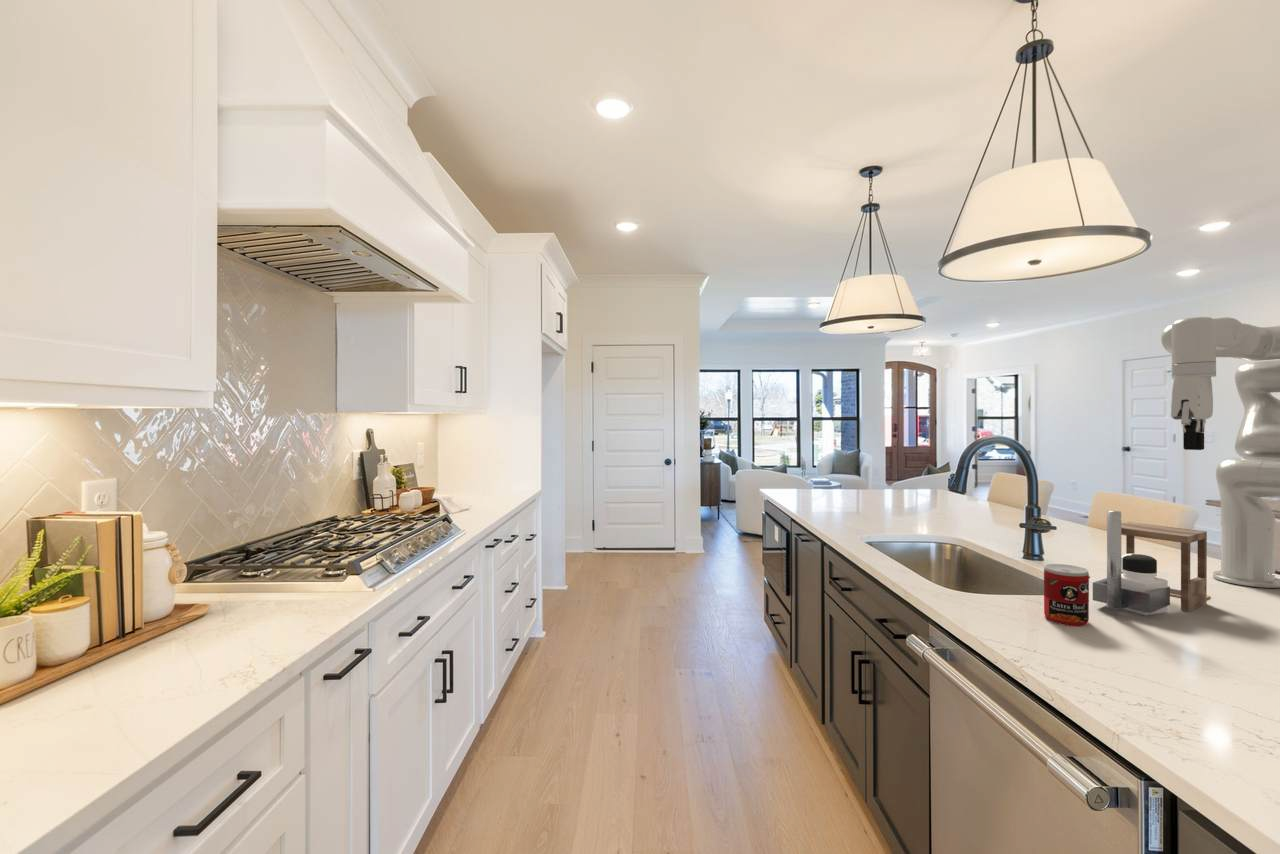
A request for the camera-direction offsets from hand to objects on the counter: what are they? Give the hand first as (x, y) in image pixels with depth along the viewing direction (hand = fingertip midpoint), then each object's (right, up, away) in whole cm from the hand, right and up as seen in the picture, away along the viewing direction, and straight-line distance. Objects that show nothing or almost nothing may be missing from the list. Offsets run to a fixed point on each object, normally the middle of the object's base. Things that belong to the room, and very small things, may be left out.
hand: (1193, 449), depth 135 cm
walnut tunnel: (-9, -35, 0) cm, 36 cm away
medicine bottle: (-19, -35, -7) cm, 41 cm away
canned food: (-40, -36, -13) cm, 55 cm away
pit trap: (-1, -35, +4) cm, 35 cm away
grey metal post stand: (-23, -34, -8) cm, 42 cm away
